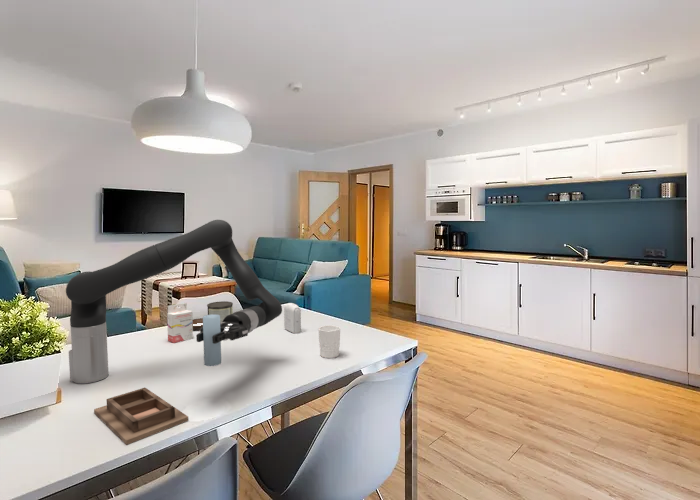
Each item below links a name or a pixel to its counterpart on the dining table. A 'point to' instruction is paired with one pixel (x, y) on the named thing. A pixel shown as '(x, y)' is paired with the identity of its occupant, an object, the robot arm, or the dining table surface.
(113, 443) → the dining table surface
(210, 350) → the slate peg
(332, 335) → the white cup
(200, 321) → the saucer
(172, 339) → the ink cartridge box
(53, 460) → the dining table surface
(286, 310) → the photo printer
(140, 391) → the slot rack
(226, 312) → the coffee can
